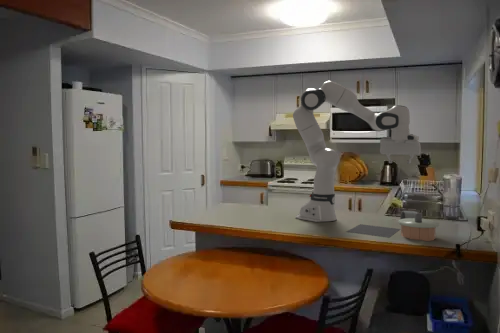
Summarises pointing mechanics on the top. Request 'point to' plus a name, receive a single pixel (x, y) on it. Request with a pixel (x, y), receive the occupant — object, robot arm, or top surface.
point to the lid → (418, 222)
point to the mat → (374, 230)
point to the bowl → (418, 233)
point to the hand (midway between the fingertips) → (399, 163)
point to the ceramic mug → (407, 214)
